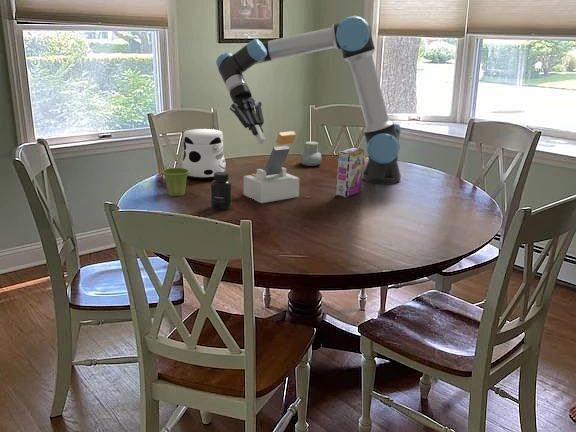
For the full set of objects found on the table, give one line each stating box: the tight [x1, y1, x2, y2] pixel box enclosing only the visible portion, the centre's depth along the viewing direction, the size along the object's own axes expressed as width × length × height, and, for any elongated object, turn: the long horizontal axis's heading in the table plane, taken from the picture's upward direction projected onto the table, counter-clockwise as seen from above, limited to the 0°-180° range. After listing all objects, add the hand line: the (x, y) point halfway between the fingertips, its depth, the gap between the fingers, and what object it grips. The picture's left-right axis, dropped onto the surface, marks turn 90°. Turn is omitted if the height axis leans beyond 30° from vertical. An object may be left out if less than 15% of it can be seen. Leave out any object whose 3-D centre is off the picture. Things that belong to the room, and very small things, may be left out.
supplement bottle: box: [210, 171, 232, 211], centre depth 198 cm, size 7×7×12 cm
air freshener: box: [300, 141, 322, 167], centre depth 262 cm, size 11×8×10 cm
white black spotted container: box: [181, 128, 226, 180], centre depth 236 cm, size 17×17×18 cm
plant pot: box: [162, 167, 189, 197], centre depth 213 cm, size 9×9×9 cm
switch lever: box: [264, 130, 297, 175], centre depth 206 cm, size 2×6×19 cm
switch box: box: [243, 167, 300, 204], centre depth 213 cm, size 12×16×10 cm
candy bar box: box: [335, 147, 365, 198], centre depth 217 cm, size 11×5×16 cm, turn 145°
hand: (262, 141), depth 214 cm, fingers closed
